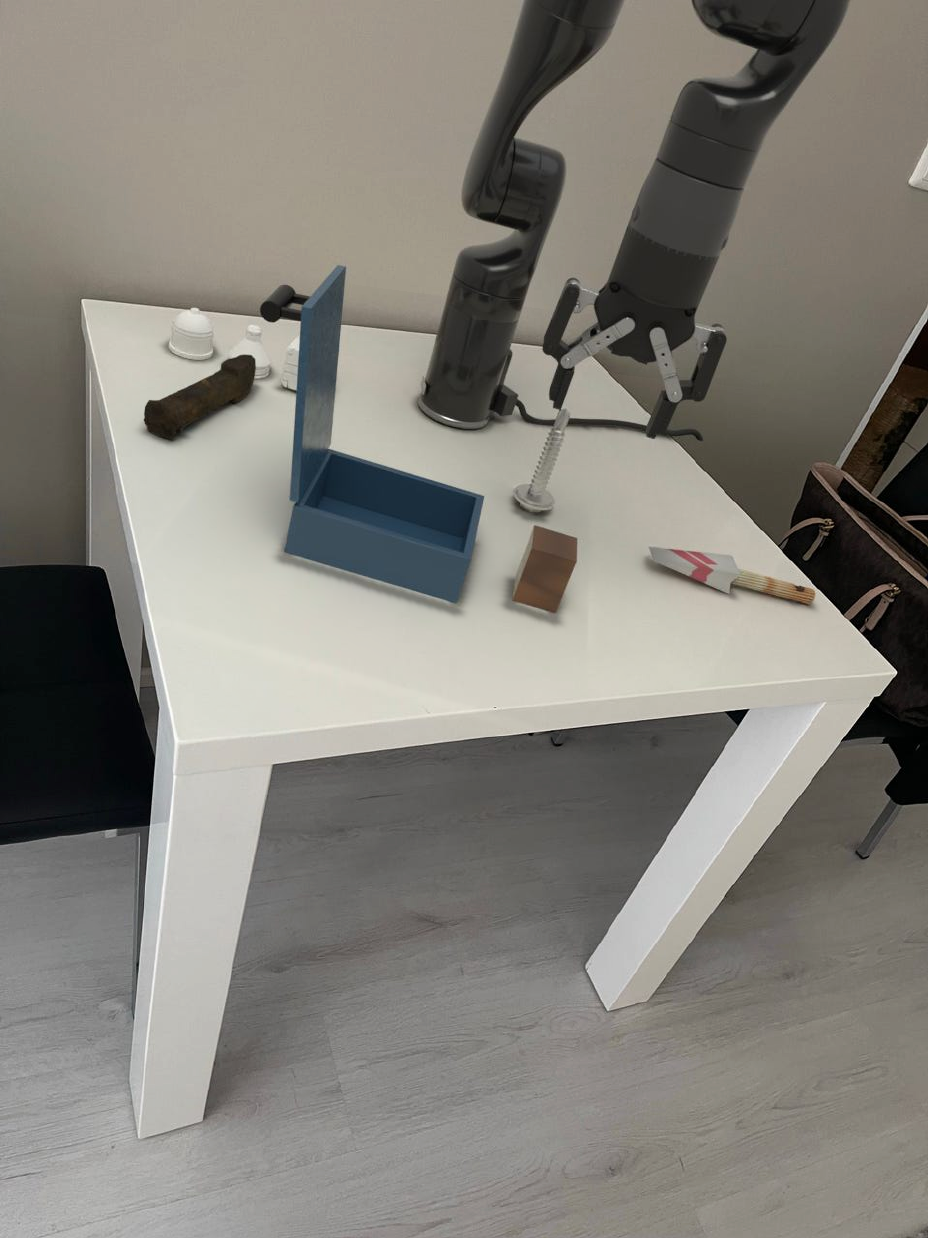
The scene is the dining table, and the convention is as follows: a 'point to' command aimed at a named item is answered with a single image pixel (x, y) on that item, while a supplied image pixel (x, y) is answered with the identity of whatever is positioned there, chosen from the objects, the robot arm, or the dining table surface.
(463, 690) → the dining table surface
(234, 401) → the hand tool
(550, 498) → the screw
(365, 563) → the toolbox
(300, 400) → the toolbox lid
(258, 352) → the container set
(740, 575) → the knife with wooden handle
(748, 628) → the dining table surface
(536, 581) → the brown block
